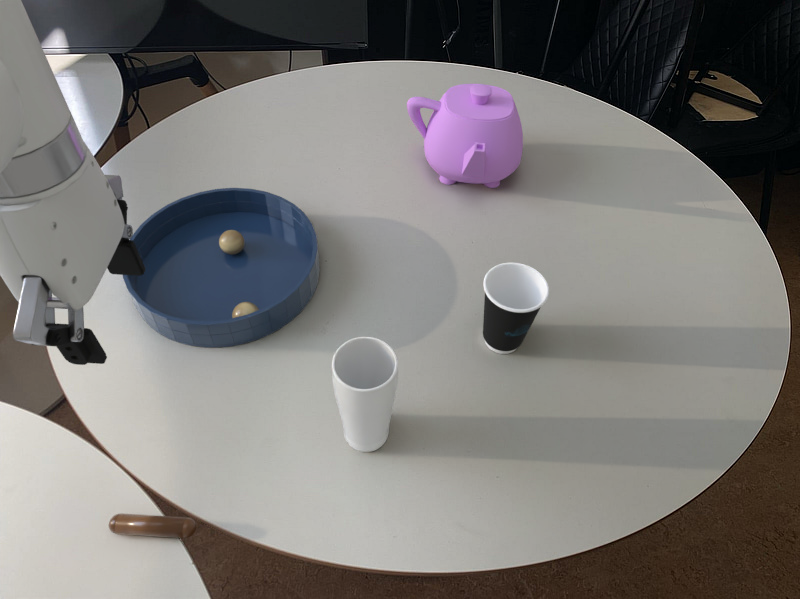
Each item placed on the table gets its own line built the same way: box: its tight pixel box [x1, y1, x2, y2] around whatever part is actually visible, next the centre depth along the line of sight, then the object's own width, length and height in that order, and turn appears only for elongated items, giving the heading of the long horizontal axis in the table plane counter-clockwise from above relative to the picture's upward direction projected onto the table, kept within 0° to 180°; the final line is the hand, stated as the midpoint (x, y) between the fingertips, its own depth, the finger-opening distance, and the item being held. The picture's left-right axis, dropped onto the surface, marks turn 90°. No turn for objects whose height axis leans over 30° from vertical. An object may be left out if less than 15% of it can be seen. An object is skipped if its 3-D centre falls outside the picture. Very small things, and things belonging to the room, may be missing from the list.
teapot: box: [406, 83, 524, 189], centre depth 97 cm, size 20×20×15 cm
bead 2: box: [232, 302, 259, 318], centre depth 79 cm, size 4×4×4 cm
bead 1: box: [219, 230, 245, 255], centre depth 87 cm, size 4×4×4 cm
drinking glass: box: [331, 336, 399, 453], centre depth 65 cm, size 7×7×15 cm
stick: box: [108, 513, 197, 539], centre depth 63 cm, size 2×9×2 cm
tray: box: [122, 187, 321, 348], centre depth 85 cm, size 26×26×5 cm
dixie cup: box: [482, 261, 550, 355], centre depth 76 cm, size 8×8×11 cm
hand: (109, 313), depth 52 cm, fingers open, 9 cm apart
